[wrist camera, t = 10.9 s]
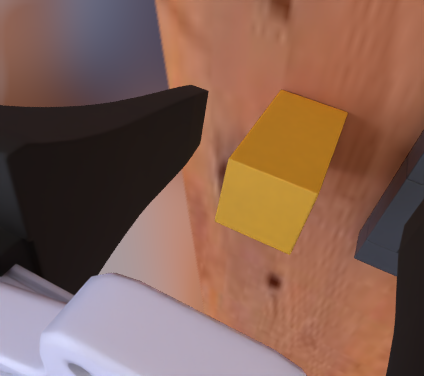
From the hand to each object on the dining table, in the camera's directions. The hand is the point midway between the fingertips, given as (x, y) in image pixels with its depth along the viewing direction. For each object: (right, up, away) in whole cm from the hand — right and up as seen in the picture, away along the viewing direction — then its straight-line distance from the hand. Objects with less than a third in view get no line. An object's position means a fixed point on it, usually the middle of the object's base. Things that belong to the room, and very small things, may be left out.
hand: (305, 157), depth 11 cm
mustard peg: (+3, +3, +11) cm, 12 cm away
